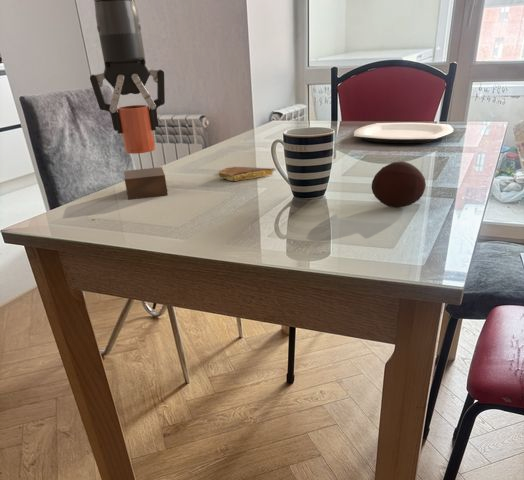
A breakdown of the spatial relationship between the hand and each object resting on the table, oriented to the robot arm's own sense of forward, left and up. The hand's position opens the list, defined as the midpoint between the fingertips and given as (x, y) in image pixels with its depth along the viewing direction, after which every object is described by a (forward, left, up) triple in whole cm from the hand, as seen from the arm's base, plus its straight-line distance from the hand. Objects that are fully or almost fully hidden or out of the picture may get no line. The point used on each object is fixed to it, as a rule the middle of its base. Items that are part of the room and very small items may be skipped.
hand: (136, 131), depth 100 cm
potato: (+42, -30, -12) cm, 53 cm away
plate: (+74, +30, -12) cm, 81 cm away
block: (0, 0, -12) cm, 12 cm away
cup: (0, 0, -4) cm, 4 cm away
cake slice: (+22, +5, -12) cm, 26 cm away
